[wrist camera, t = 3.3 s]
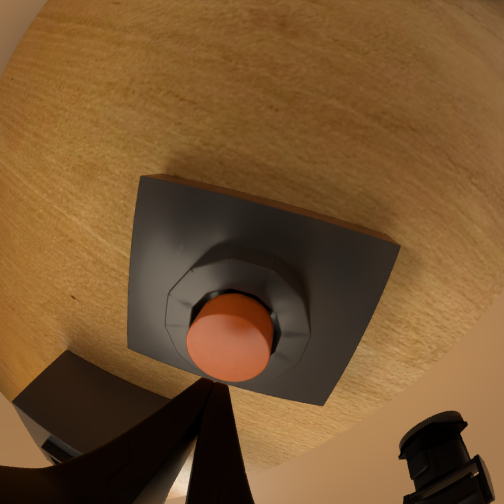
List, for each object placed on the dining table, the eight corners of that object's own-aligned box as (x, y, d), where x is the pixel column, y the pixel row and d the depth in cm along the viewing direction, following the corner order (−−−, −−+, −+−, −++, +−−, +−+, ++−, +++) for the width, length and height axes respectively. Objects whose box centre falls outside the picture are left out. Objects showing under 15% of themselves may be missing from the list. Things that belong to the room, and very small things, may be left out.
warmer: (190, 406, 18) (147, 501, 10) (182, 459, 22) (154, 527, 13) (66, 349, 19) (3, 408, 11) (82, 413, 22) (42, 465, 14)
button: (283, 305, 11) (280, 328, 9) (262, 364, 12) (257, 390, 10) (205, 283, 11) (191, 302, 9) (194, 344, 12) (181, 367, 10)
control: (386, 234, 13) (417, 258, 9) (321, 382, 16) (324, 429, 12) (161, 173, 14) (118, 177, 10) (143, 330, 17) (112, 365, 13)
